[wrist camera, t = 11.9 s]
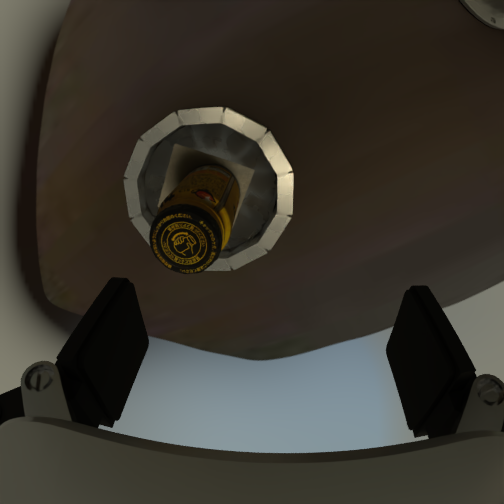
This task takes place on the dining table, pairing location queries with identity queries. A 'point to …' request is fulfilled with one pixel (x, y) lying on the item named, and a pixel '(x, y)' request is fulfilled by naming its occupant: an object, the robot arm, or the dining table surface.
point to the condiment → (197, 209)
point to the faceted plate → (226, 147)
